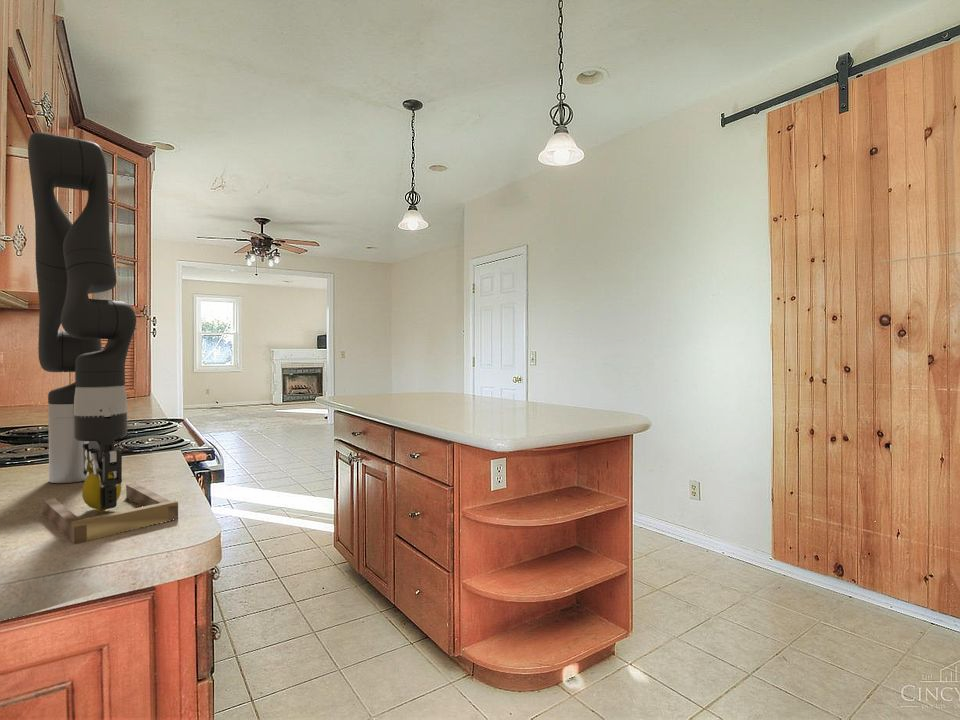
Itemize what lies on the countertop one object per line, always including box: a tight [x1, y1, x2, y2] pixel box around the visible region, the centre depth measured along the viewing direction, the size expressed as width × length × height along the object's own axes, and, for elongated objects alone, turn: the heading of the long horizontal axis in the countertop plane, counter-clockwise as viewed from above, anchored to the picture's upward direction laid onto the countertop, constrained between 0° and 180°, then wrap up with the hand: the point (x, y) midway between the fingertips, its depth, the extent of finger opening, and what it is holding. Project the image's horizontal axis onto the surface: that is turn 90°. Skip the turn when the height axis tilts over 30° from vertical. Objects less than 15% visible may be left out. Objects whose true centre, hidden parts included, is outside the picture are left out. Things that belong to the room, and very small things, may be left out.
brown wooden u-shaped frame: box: [41, 483, 179, 544], centre depth 86 cm, size 22×14×3 cm, turn 51°
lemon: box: [81, 472, 122, 513], centre depth 89 cm, size 6×6×8 cm
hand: (102, 503), depth 89 cm, fingers open, 7 cm apart
